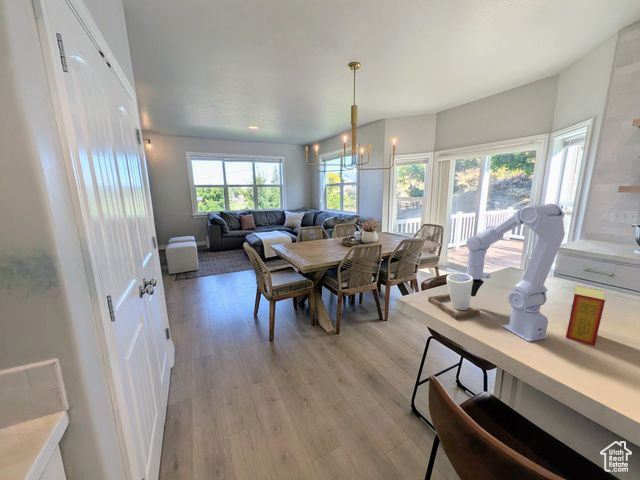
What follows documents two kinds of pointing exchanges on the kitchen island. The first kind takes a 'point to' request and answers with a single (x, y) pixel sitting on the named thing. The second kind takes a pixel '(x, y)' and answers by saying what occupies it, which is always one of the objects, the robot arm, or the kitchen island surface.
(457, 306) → the foam cup
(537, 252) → the robot arm
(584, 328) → the baking soda box
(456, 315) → the walnut corral
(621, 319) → the kitchen island surface
